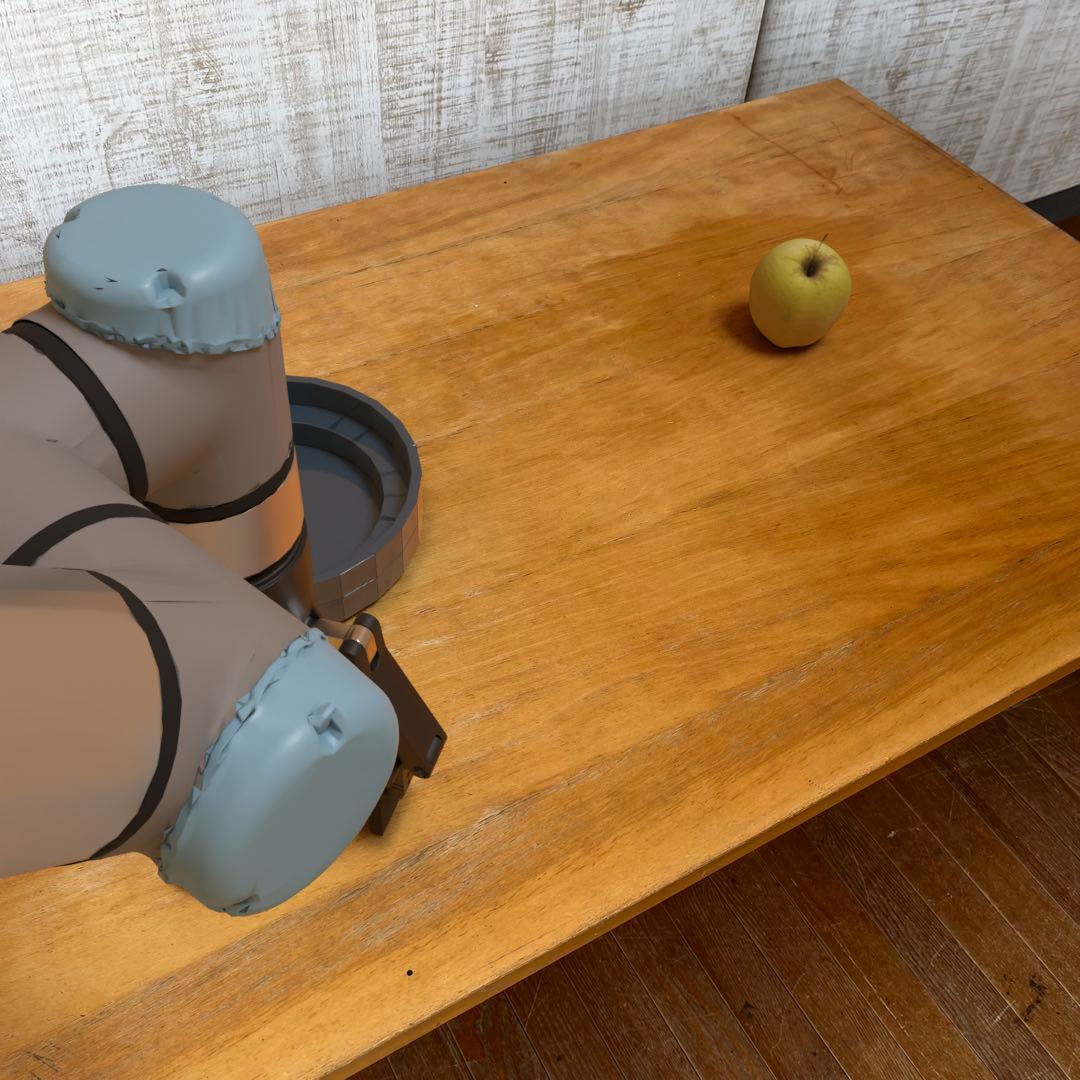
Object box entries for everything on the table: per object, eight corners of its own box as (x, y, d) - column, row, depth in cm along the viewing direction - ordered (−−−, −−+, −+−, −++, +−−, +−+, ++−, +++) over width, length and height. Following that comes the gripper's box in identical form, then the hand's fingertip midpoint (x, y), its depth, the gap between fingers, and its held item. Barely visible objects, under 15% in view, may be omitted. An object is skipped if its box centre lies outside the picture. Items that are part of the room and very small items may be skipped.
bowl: (349, 682, 72) (343, 632, 69) (58, 593, 76) (38, 541, 72) (464, 467, 86) (464, 415, 82) (212, 399, 89) (202, 347, 85)
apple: (748, 280, 102) (805, 193, 94) (825, 330, 101) (889, 247, 93) (714, 328, 97) (772, 241, 89) (795, 382, 96) (860, 298, 89)
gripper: (514, 542, 52) (502, 787, 68) (22, 407, 56) (118, 667, 72) (455, 672, 47) (456, 903, 63) (-79, 513, 51) (47, 767, 67)
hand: (276, 777), depth 67 cm, fingers open, 13 cm apart
